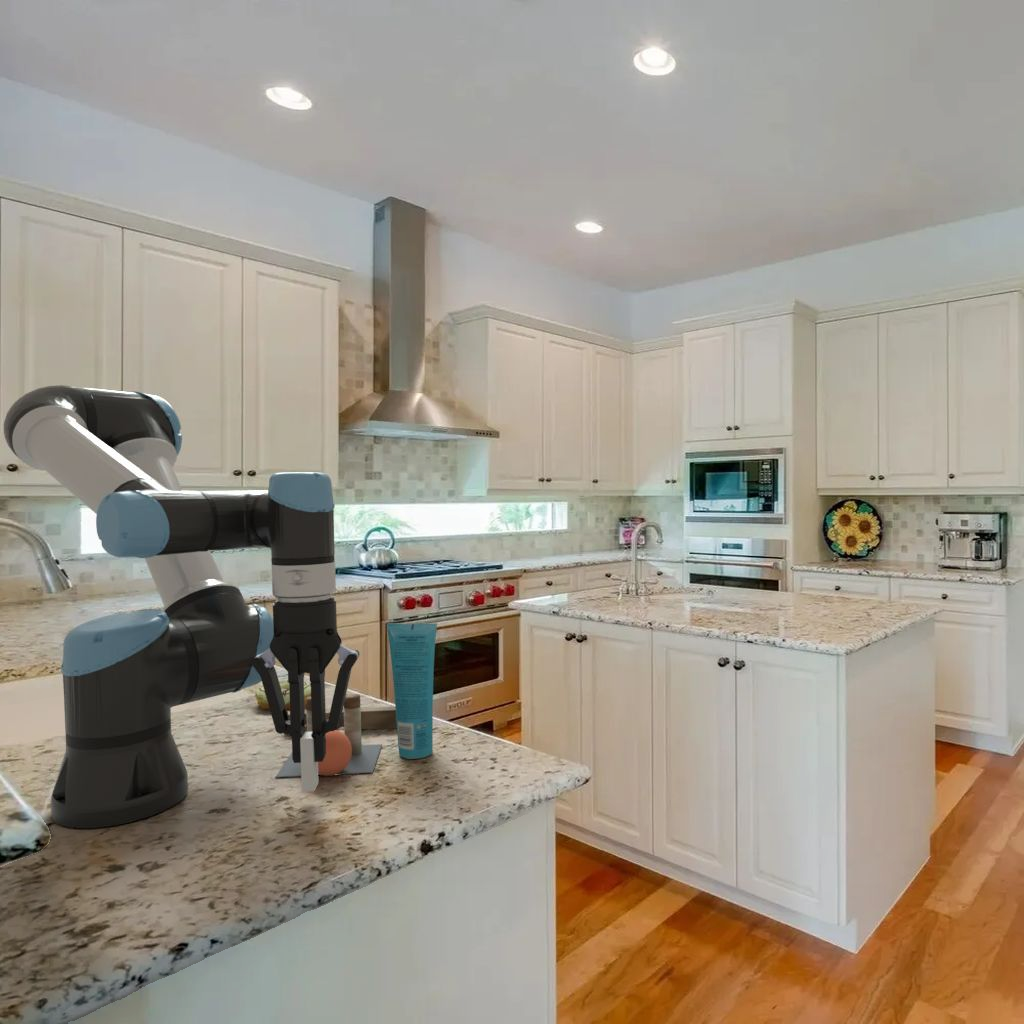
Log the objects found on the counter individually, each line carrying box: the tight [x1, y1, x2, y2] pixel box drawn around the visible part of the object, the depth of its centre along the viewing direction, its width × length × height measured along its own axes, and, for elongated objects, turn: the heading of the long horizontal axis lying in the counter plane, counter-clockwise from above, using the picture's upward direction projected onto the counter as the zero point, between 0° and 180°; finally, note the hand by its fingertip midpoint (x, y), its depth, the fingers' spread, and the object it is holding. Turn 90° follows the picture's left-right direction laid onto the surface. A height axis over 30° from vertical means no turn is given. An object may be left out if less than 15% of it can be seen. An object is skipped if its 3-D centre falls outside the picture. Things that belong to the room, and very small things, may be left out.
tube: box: [386, 622, 438, 760], centre depth 105 cm, size 7×5×19 cm, turn 89°
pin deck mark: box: [275, 743, 383, 778], centre depth 103 cm, size 13×11×1 cm
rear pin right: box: [305, 697, 312, 732], centre depth 105 cm, size 2×2×8 cm
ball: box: [318, 730, 352, 777], centre depth 98 cm, size 6×6×6 cm
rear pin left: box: [343, 693, 363, 755], centre depth 105 cm, size 2×2×8 cm
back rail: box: [287, 706, 397, 733], centre depth 117 cm, size 20×2×3 cm, turn 94°
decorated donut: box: [254, 679, 311, 710], centre depth 133 cm, size 10×11×4 cm
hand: (310, 787), depth 89 cm, fingers closed
